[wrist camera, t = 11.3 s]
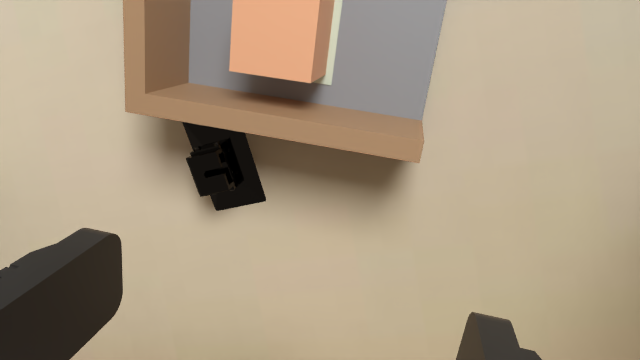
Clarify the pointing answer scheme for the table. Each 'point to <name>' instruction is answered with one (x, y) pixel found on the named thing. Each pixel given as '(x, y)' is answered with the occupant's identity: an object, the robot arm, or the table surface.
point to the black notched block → (223, 166)
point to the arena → (286, 95)
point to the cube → (281, 38)
